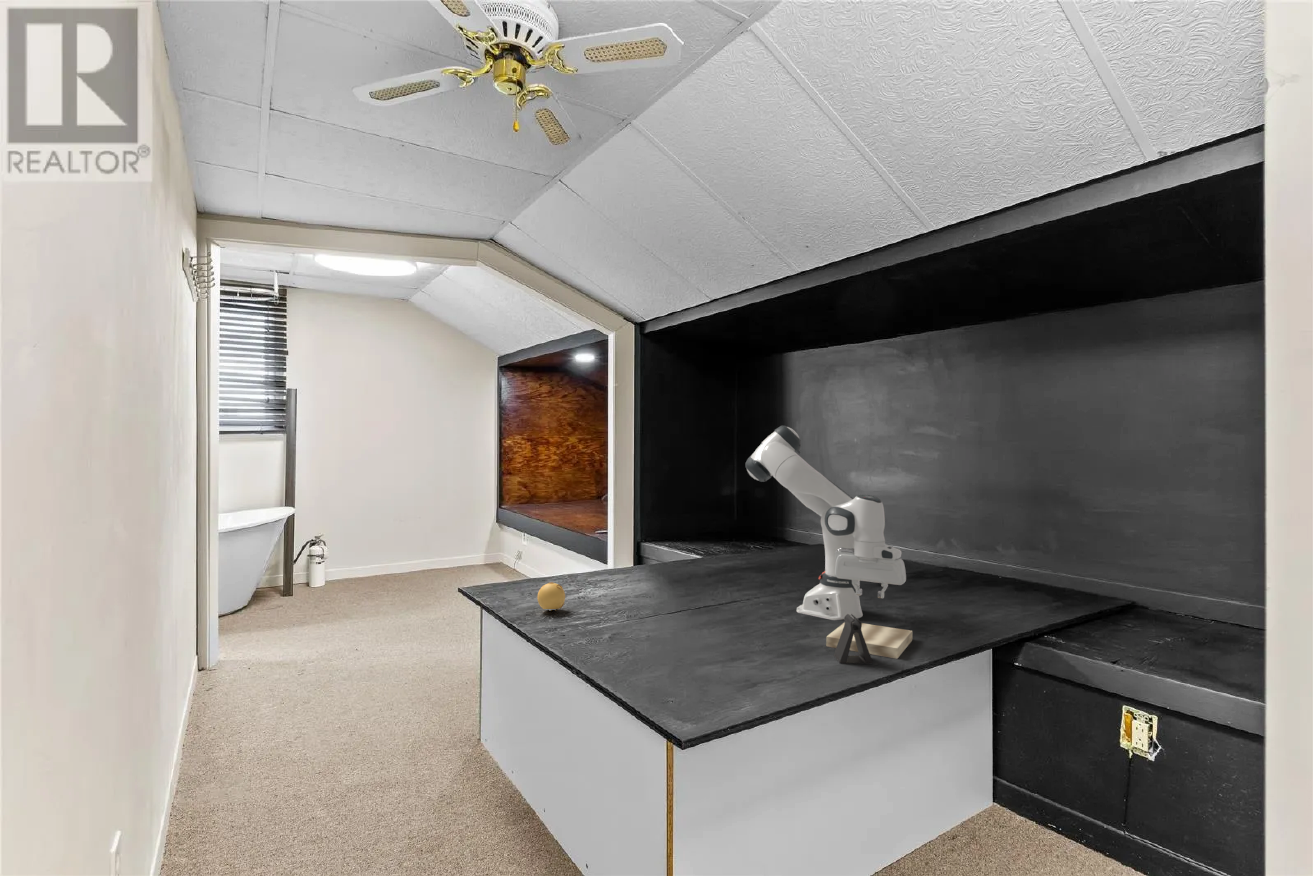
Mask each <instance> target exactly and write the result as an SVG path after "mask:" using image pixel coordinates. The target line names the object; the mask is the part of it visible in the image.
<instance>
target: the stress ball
mask: <svg viewBox="0 0 1313 876" xmlns="http://www.w3.org/2000/svg"><path fill="white" fill-rule="evenodd" d="M565 601H566V592H565V590H564V587H563V586H562V585H560V584H558V583H556V582H553V581H551V582H548V583H546V584H543V585H542V586H541V588H539V590H538V593H537V603H538V605H539V606H540V608H541V609H543V610H544V609H558V610H559V609H562V608H563V607H564V605H565Z"/></svg>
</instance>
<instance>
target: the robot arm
mask: <svg viewBox="0 0 1313 876" xmlns="http://www.w3.org/2000/svg"><path fill="white" fill-rule="evenodd" d="M801 445H802V442H801V438H800V436H799V434H798V433H797V432H796V430H794V429H793V428H791V427H789V426H786V425H780V426H779V427H777V428H775V429H774V431H773V432H772V433H771V434H769V435H767V437H766V438H765V439H764V440H763V441H761V443H760V445H759V446H757V448H756V449H755V451H753V453H752V454H751V455H750V456H749V457H748V458H747V459H746V462H745V468H746V471H747V474H748V475H749V476H750V477H751V478H752V479H754V480H756V481H759V482H761V483H762V482H763V483H764V482H767V481H768V480H770V479H771V478H772V477H773V478H774V479H775V480H776V481H777V482H778V483H779V484H780V485H781V486H783V488H785V489H787V490H788V491H789V492H790V493H791V494H792V495H793V496H795V498H796V499H797V500H798V501H799V502H801V504H802V505H804V506H805V507H806V508H807V509H809V510H811V511H813V513H816V515H818V516H819V517H820V526H821V531H822V538H823V545H824V546H823V547H824V556H825V559H824V561H825V562H824V563H825V565H824V567H825V568H824V571H823V572H822V573H821V574H820V575H819V576H818V580H819V584H817V585H815V586H813V588H811V589H810V590H808V591H807V592H806V593H805V595H804V597H803V601H802V604H800V605H799V606H797V607H796V612H797V613H798V614H801V615H802V614H803V615H808V616H811V617H812V616H813V617H817V618H821V619H827V620H831V621H841V620H844V618H845V616H846V615H847V614H849V615H850V616H851V617H852V618H853V619H854V617H853V616H852V615H854V616H855V617H856V618H857V619H860V618H862V617H863V615H864V614H863V611H862V607H861V601H860V596H863V589H862V588H860V586H861V582H867V583H868V582H869V583H870V582H871V583H879V584H880V585H881V587H882V589H881V590H878V591H877V598H878V599H884V598H885V592H886V590H887V589H888V587H889V585H896V586H897V585H898V586H902V585H904V584H905V582H906V581H907V574H906V573H907V571H906V567H905V562H904V560H903V558H901V557H902V554H903V553H902V550H901V549H900V548H897V547H894V546H891V545H889V544H886V539H885V535H884V531H885V527H886V522H885V521H886V519H885V516H886V515H885V508H884V504H883V501H882V500H881V499H880V498H878V497H876V496H874V495H868V494H867V495H866V494H858V495H856V496H855V497H852V496H851V495H849V494H848V493H847V492H846V491H845V490H843V489H842V488H841V487H839V486H838V485H837V484H835V482H833V481H832V480H830V478H828V477H826V476H824V475H823V474H822V473H821V472H820V471H818V470H816V468H814V467H813V466H812V465H810V464H809V463H808V462H807V461H806V460H805V459H803V457H801V456H800V455H801V450H800V449H801V447H802V446H801ZM851 614H852V615H851Z"/></svg>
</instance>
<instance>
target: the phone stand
mask: <svg viewBox="0 0 1313 876" xmlns="http://www.w3.org/2000/svg"><path fill="white" fill-rule="evenodd" d="M851 615H852V614H851ZM852 616H853V617H854V619H853V618H852V617H851V616H850V615H849V614H847V615H846V616H845V618H844V619H843V621H844V622H845V625H844V628H843V631H842V633H841V636H840V639H839V642H838V645H837V647H836V648H835V650H834V653H833V657H834V658H835V659H836V661H837V662H838V663H839V664H846V665H847V664H849V665H850V664H854V665H855V664H871V665H872V664H873V663H874V662H873V659H872V656H871V654H870V653H869V651H868V648H867V645H866V642H865V640H864V637H863V634H862V631H861V627H862V624H861V623H862V622H861V621H860V620H859V618H856V617H855V616H854V615H852ZM853 635H854V637H855V641H856V645H857V649H858V652H857V653H858V655H849V652H850V646H851V642H852V639H853Z"/></svg>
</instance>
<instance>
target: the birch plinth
mask: <svg viewBox="0 0 1313 876" xmlns="http://www.w3.org/2000/svg"><path fill="white" fill-rule="evenodd" d="M861 624H862V627H861V631H862V634H863V637H864V640H865V642H866V645H867V648H868V651H869V653H870V655H874V656H879V657H880V656H881V657H884V658H885V657H886V658H891V659H896V660H897V659H898V658H899V657H900V656H901V655H902V654H903V652H905V650H906V648H907V647H909V645H910V644H911V643H912V641H913V630H909V629H903V628H897V627H896V628H895V627H889V626H882V625H874V624H869V623H863V622H861ZM844 625H845V621H844V622H843V623H842V624H840V625H839V626H838V627H837V628H835V629H834V630H833V631H832V632H830V633H828V635H827V636H826V642H825V645H826V648H827V647H828V648H832V649H834V648H835V649H836V647H837V645H838V642H839V639H840V636H841V633H842V631H843V628H844ZM850 651H851V652H856V653H859V652H858V649H857V645H856V641H855V637H854V635H853V639H852V642H851V646H850V650H849V652H850Z"/></svg>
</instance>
